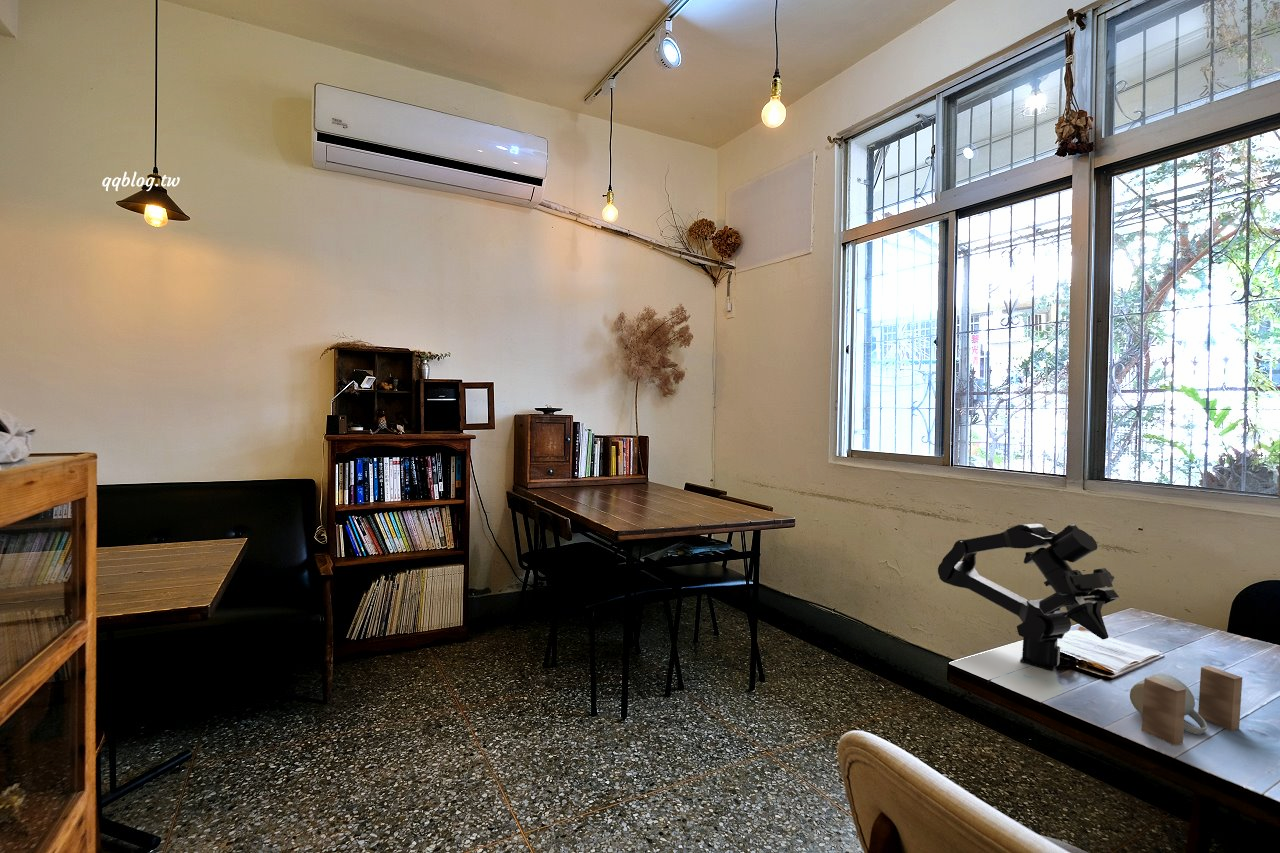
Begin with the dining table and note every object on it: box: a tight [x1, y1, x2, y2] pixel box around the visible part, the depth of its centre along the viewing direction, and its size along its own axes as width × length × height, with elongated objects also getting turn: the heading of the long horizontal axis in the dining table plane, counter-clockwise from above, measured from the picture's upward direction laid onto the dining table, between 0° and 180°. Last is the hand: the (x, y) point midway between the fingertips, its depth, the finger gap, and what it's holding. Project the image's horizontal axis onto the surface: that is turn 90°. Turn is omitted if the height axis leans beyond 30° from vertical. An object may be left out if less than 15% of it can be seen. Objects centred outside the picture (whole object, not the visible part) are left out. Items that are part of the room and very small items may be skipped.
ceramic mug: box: [1129, 673, 1208, 735], centre depth 109 cm, size 11×8×8 cm
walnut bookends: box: [1141, 665, 1243, 746], centre depth 106 cm, size 5×20×10 cm, turn 109°
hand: (1105, 638), depth 121 cm, fingers closed
